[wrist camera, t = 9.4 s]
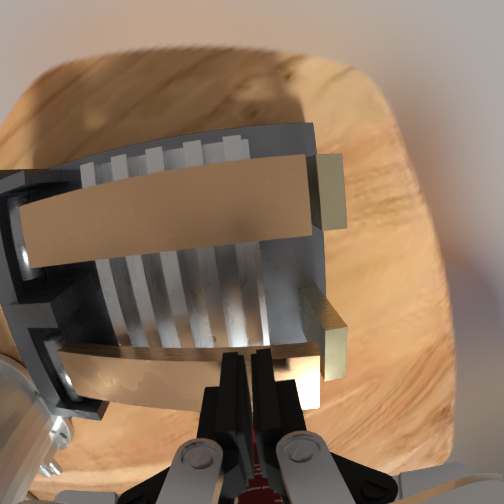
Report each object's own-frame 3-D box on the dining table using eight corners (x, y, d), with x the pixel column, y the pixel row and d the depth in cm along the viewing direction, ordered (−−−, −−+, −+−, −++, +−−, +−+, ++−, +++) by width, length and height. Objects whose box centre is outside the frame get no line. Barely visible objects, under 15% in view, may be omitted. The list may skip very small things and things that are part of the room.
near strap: (306, 242, 11) (313, 249, 10) (32, 273, 11) (18, 281, 10) (298, 143, 10) (304, 139, 9) (17, 198, 10) (2, 200, 9)
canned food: (263, 476, 23) (273, 564, 12) (200, 448, 21) (192, 552, 11) (322, 441, 22) (353, 538, 11) (261, 407, 20) (277, 531, 10)
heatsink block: (320, 342, 19) (353, 410, 12) (81, 360, 19) (41, 418, 12) (306, 127, 16) (351, 96, 9) (34, 177, 15) (-37, 183, 8)
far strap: (316, 398, 12) (318, 417, 11) (76, 387, 13) (66, 399, 12) (316, 329, 11) (320, 345, 10) (51, 330, 12) (38, 341, 11)
